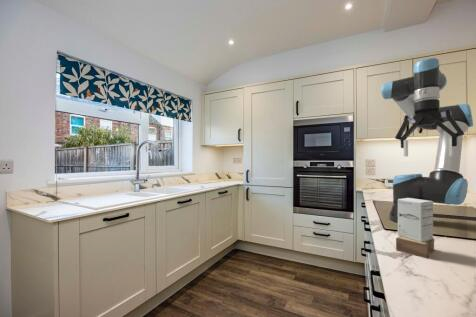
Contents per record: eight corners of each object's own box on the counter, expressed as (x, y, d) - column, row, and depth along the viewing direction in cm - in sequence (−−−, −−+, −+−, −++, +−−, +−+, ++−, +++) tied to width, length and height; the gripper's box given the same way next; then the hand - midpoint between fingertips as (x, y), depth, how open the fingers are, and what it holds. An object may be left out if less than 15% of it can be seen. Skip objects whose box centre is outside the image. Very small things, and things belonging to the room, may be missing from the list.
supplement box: (396, 235, 79) (396, 198, 79) (409, 232, 82) (409, 197, 82) (421, 242, 72) (421, 202, 72) (434, 239, 75) (433, 200, 75)
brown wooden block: (405, 243, 83) (405, 231, 83) (434, 250, 77) (434, 237, 77) (396, 250, 77) (396, 237, 77) (426, 258, 71) (426, 244, 71)
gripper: (386, 105, 96) (386, 156, 95) (471, 91, 76) (472, 155, 76) (392, 108, 100) (393, 156, 100) (474, 95, 81) (474, 155, 81)
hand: (427, 156), depth 88 cm, fingers open, 13 cm apart
